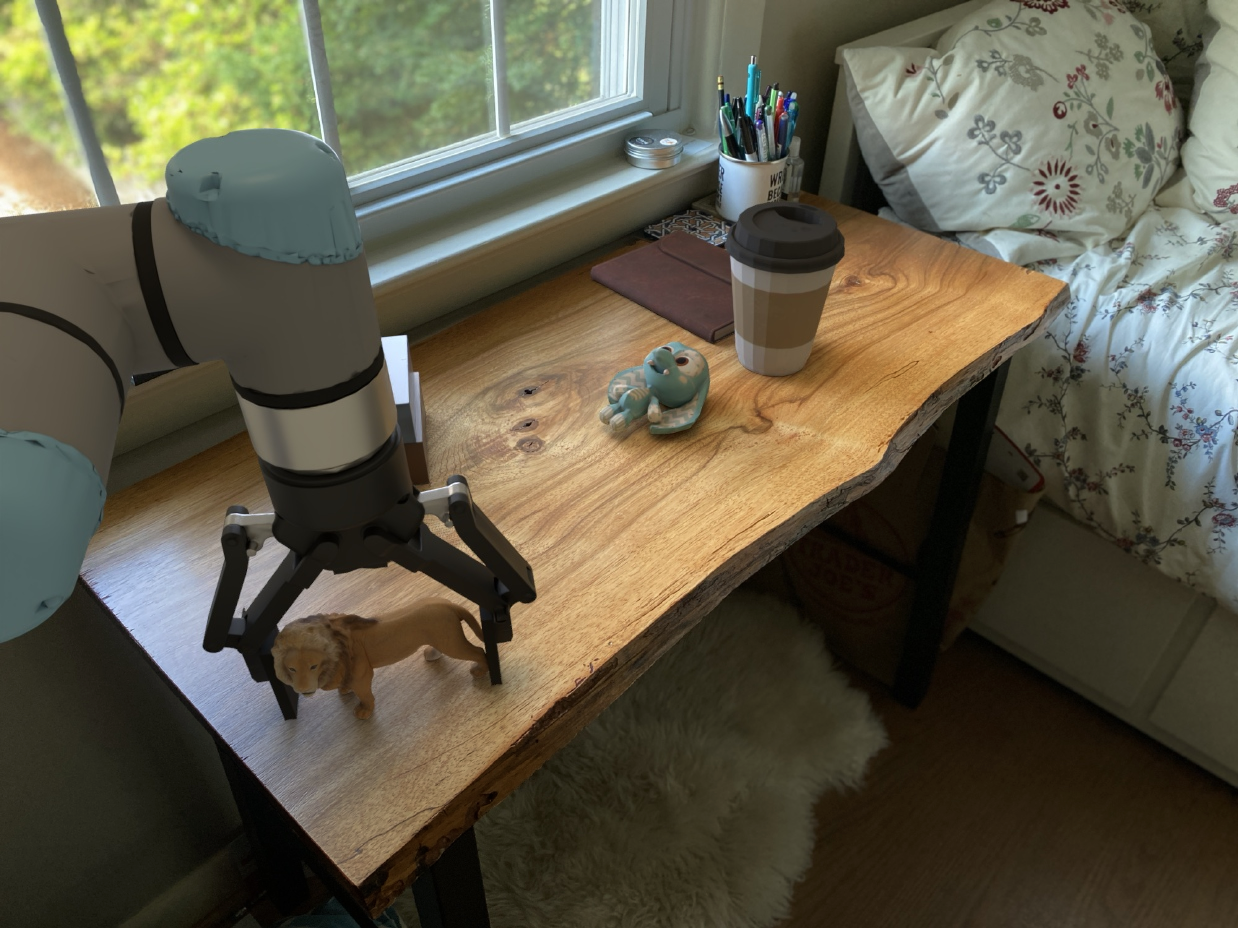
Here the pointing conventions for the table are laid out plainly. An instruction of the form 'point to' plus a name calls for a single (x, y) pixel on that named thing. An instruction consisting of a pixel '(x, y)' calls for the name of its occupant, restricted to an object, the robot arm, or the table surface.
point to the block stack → (408, 406)
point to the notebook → (677, 282)
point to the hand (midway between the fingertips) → (395, 686)
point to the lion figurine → (371, 647)
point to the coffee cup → (780, 282)
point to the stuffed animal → (660, 390)
